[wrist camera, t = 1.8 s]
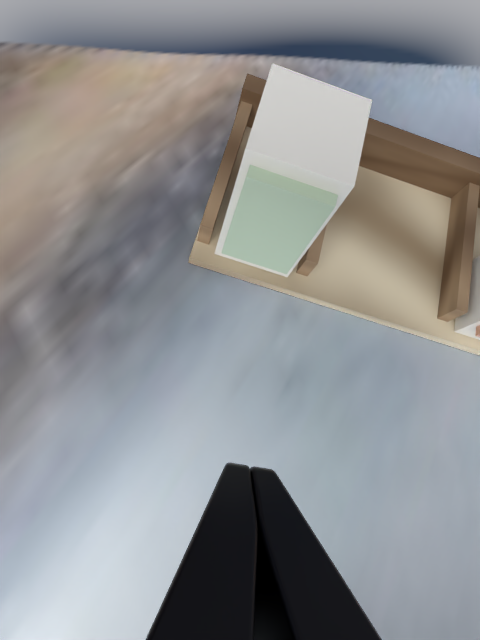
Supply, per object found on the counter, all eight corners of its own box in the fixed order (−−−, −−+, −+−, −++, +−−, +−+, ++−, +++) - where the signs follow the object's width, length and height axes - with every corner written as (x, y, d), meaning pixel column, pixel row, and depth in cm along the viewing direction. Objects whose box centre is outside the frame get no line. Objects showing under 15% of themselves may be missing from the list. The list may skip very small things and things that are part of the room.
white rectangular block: (285, 286, 22) (352, 198, 15) (211, 262, 22) (241, 160, 14) (302, 213, 24) (372, 99, 16) (234, 190, 23) (272, 63, 16)
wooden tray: (528, 371, 24) (578, 359, 21) (188, 262, 22) (193, 234, 20) (535, 221, 27) (578, 193, 25) (237, 115, 26) (247, 73, 23)
